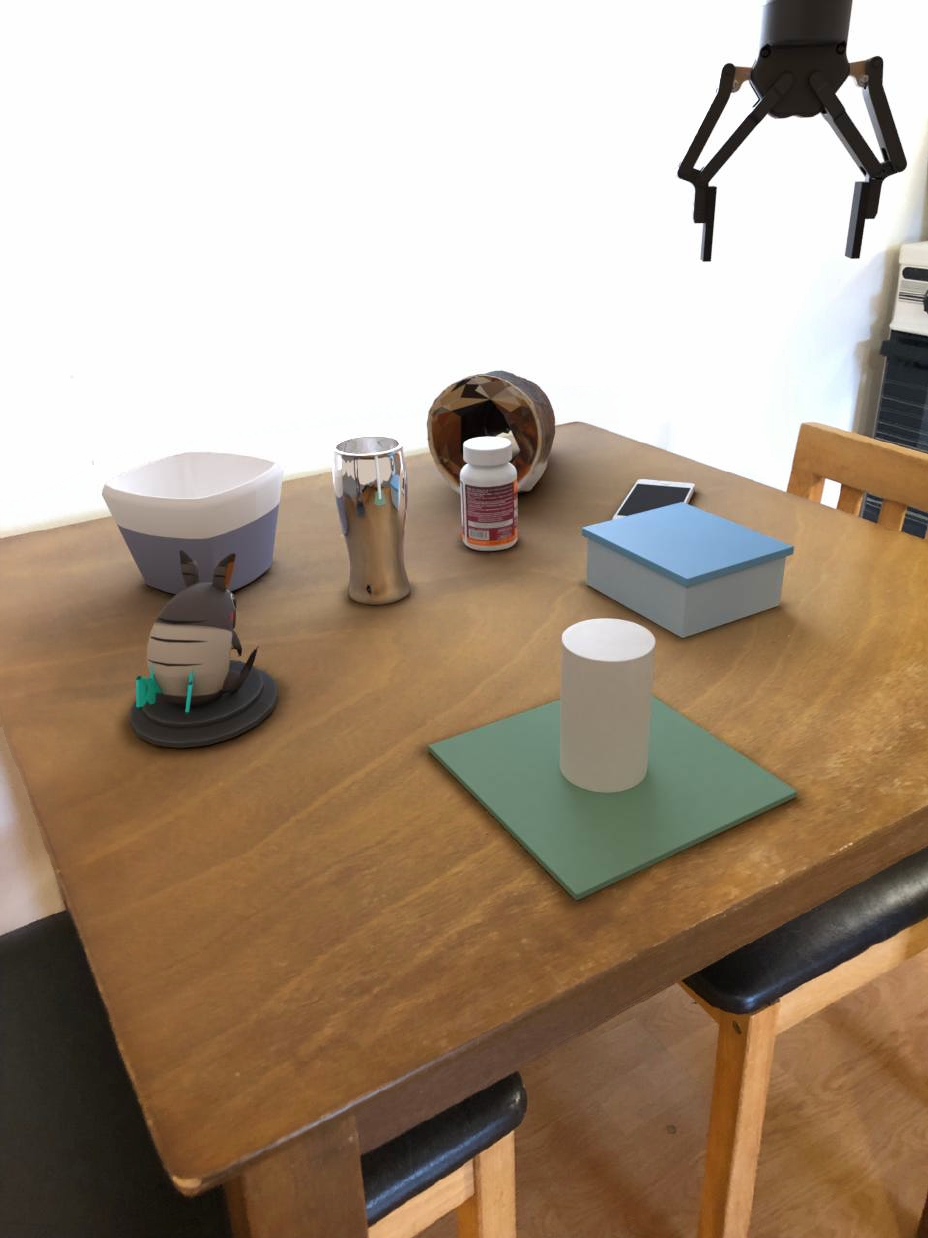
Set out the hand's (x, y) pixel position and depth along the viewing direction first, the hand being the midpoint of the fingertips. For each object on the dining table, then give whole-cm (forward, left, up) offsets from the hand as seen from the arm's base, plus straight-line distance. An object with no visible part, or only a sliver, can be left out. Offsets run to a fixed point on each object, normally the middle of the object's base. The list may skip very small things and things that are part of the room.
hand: (778, 259), depth 90 cm
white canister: (-26, +40, -28) cm, 55 cm away
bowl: (+24, +53, -29) cm, 65 cm away
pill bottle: (+15, +24, -29) cm, 40 cm away
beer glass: (+10, +40, -29) cm, 50 cm away
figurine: (-2, +61, -29) cm, 67 cm away
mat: (-26, +40, -29) cm, 56 cm away
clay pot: (+35, +9, -29) cm, 46 cm away
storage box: (-7, +16, -29) cm, 34 cm away
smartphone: (+13, +2, -29) cm, 32 cm away
